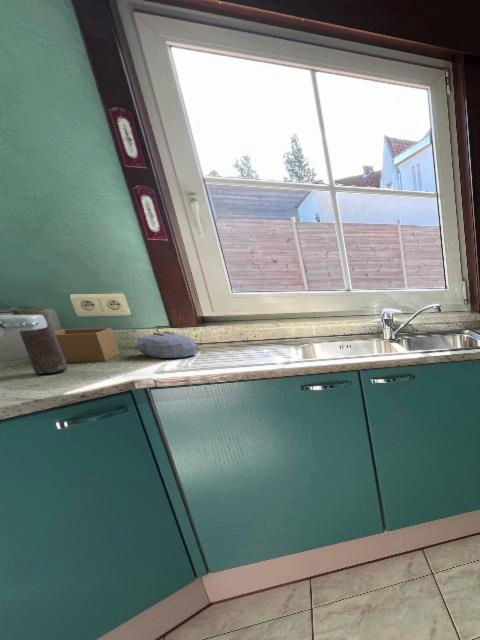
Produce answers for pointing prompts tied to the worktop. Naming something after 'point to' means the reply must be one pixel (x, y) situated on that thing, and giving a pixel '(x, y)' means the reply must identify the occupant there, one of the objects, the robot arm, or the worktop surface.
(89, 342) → the carton
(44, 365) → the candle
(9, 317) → the robot arm
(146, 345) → the grey rounded bag
